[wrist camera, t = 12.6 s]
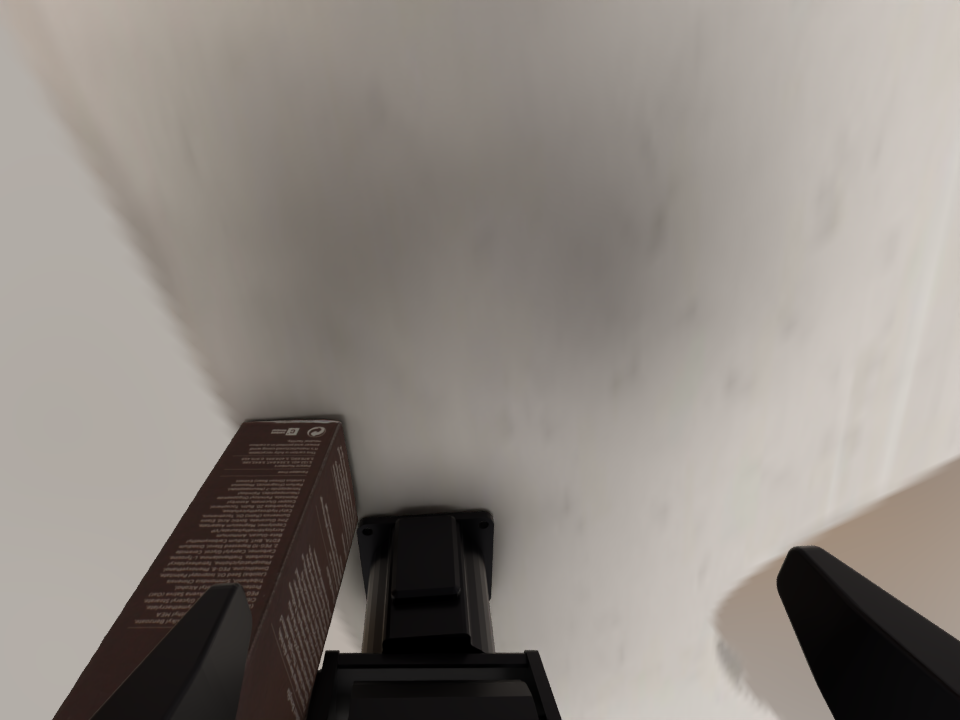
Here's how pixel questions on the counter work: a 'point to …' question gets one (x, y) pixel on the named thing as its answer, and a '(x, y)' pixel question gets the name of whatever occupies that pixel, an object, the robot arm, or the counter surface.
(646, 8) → the counter surface
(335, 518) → the box
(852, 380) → the counter surface
